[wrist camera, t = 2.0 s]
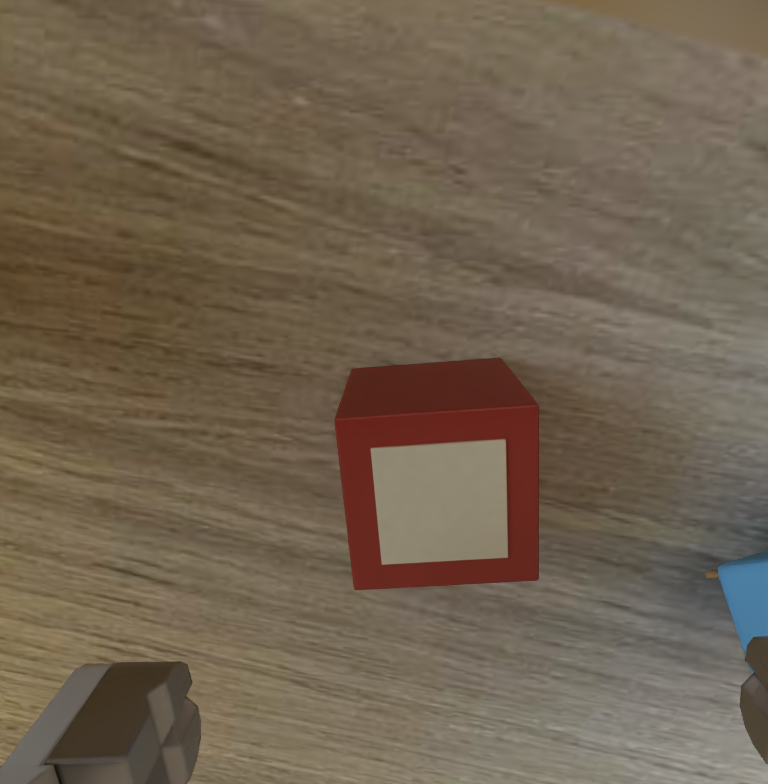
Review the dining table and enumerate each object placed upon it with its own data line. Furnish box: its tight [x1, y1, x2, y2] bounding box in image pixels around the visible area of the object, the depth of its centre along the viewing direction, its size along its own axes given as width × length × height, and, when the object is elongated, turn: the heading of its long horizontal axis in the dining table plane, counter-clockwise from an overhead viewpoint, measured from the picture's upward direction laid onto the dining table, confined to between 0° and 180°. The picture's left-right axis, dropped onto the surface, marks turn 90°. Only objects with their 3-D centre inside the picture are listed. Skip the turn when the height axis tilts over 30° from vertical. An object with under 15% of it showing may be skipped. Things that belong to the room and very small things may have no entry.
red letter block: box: [334, 358, 539, 590], centre depth 14 cm, size 4×4×5 cm
